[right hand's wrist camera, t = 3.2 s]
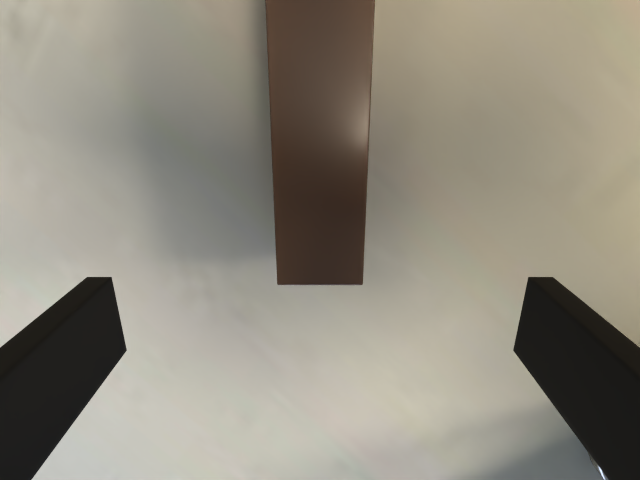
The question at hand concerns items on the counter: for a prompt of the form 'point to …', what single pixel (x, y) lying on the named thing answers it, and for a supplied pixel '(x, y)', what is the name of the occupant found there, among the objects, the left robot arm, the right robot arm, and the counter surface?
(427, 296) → the counter surface
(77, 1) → the counter surface
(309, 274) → the walnut beam
